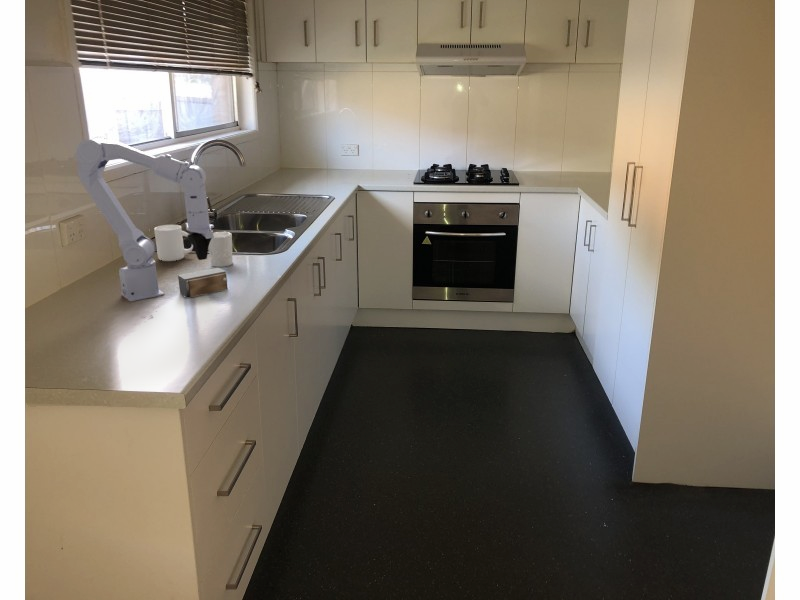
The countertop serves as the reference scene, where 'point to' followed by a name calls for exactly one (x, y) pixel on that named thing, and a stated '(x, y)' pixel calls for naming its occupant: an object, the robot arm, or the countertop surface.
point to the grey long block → (195, 275)
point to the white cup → (221, 249)
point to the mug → (170, 242)
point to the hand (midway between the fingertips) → (202, 259)
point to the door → (206, 285)
